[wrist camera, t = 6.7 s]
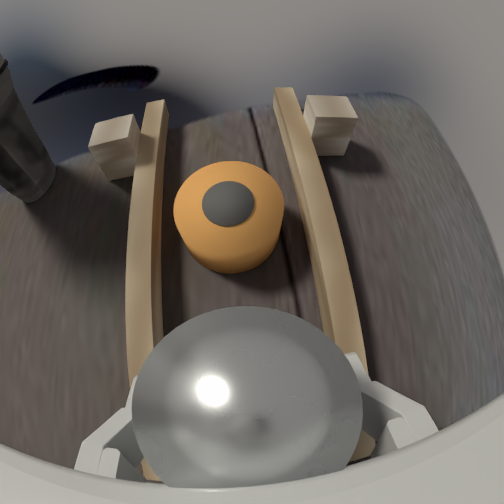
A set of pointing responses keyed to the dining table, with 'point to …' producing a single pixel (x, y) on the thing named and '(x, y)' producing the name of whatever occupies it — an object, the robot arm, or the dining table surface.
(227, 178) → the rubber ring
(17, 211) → the dining table surface
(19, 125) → the beverage cup
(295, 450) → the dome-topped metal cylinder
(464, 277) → the dining table surface
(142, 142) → the guide track
